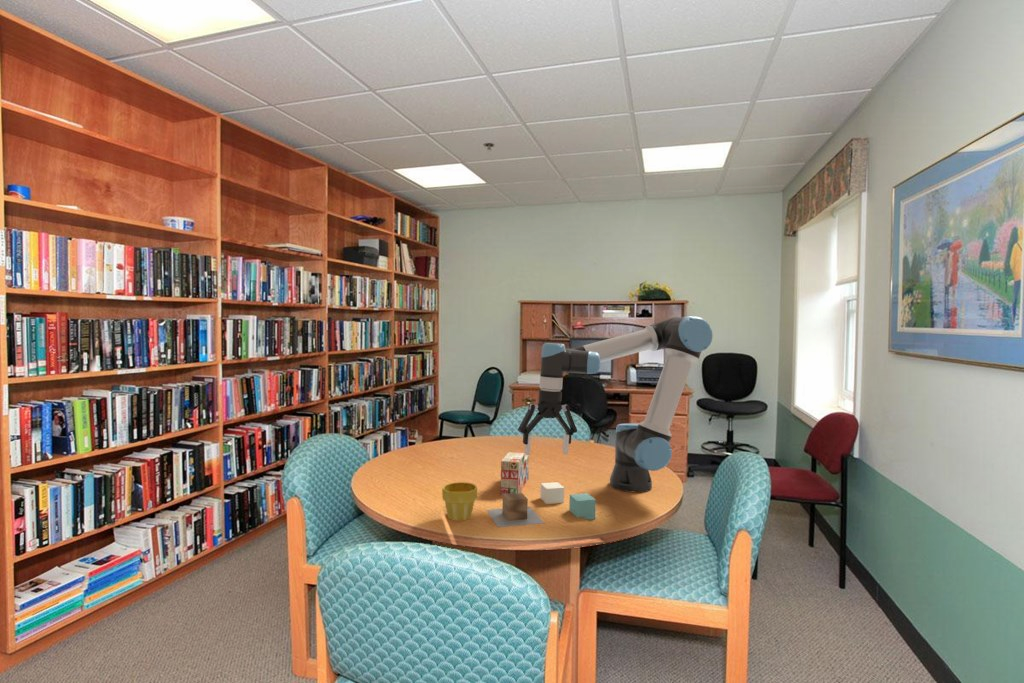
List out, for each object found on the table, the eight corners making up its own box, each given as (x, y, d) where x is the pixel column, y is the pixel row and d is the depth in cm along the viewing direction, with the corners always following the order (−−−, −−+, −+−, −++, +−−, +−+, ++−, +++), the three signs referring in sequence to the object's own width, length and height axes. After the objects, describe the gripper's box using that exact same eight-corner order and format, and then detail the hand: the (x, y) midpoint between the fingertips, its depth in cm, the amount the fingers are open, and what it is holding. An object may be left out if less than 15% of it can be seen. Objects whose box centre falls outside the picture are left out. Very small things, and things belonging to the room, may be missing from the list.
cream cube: (557, 499, 170) (557, 482, 170) (563, 505, 165) (564, 487, 164) (540, 501, 169) (540, 483, 169) (546, 507, 163) (546, 488, 163)
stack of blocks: (512, 478, 194) (513, 446, 194) (528, 479, 193) (529, 447, 193) (500, 496, 173) (500, 460, 173) (518, 497, 172) (518, 461, 172)
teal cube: (586, 512, 159) (587, 493, 159) (595, 519, 154) (595, 499, 153) (569, 513, 158) (569, 494, 157) (576, 521, 152) (577, 501, 152)
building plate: (529, 509, 160) (529, 506, 160) (544, 526, 147) (544, 522, 147) (486, 513, 156) (486, 510, 156) (497, 530, 143) (497, 527, 143)
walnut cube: (521, 511, 155) (521, 492, 155) (527, 519, 150) (527, 498, 149) (502, 513, 154) (502, 493, 154) (507, 520, 148) (508, 500, 148)
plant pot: (435, 517, 152) (436, 485, 152) (465, 510, 158) (466, 479, 158) (452, 528, 144) (452, 494, 144) (483, 521, 150) (483, 488, 150)
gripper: (579, 389, 175) (575, 450, 175) (511, 387, 167) (507, 451, 167) (589, 392, 168) (585, 456, 168) (518, 390, 160) (514, 457, 160)
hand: (546, 453), depth 167 cm, fingers open, 13 cm apart
